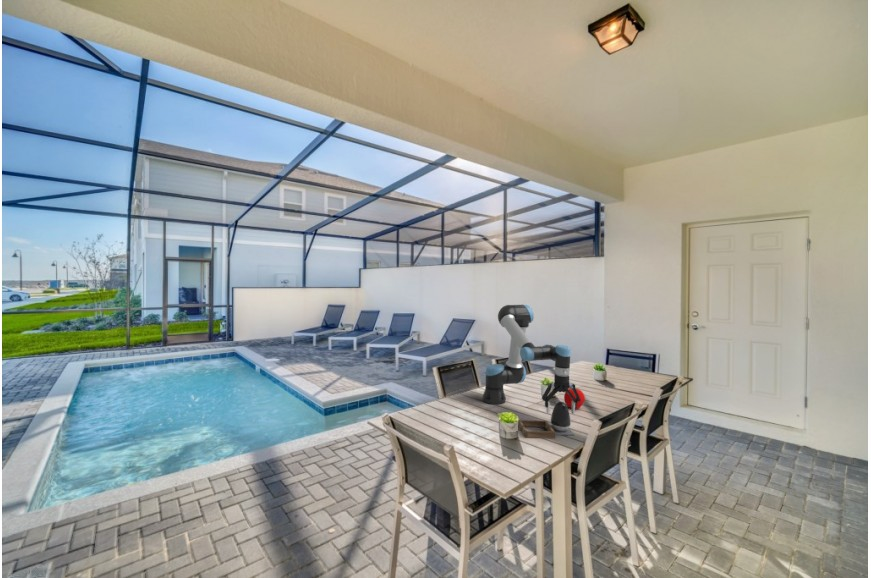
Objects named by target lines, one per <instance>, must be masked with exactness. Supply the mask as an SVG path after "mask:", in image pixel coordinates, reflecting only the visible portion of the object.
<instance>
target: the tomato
mask: <svg viewBox="0 0 871 578" xmlns="http://www.w3.org/2000/svg"><path fill="white" fill-rule="evenodd" d="M575 389H576V391H577V393H578V395H579V398H580V400H581V401H578V403H577V407H576V408H575V410H576V409H577V410H578V409H580V408H581V407H582V406H583V405H584V403H585V401H586V397H585V396H586V395H585V394H584V392H583V391H582V390H581V389H579V388H575ZM568 390H569V391H570V393H571V394H572V395H573V396H574V398H575V399H576V396H575V394H574V392H573V390H572V388H571V387H569V388H568ZM572 401H574V400H573V399H572V398H571V397H570V395H569V394H568V393H567V392H564V395H563V402H564V403H565V404H566V406H567V407H569V409H570V408H571V409H572Z"/></svg>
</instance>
